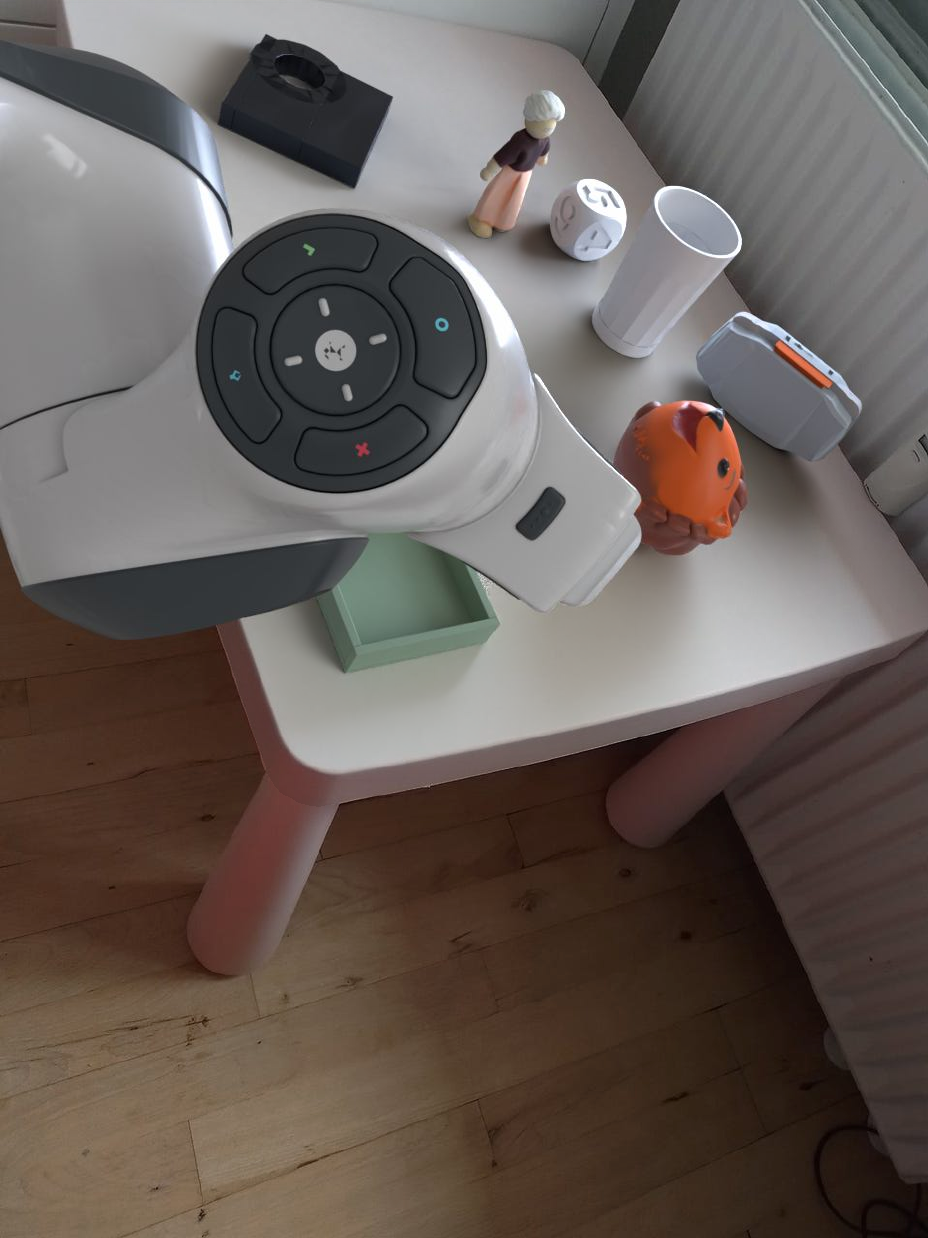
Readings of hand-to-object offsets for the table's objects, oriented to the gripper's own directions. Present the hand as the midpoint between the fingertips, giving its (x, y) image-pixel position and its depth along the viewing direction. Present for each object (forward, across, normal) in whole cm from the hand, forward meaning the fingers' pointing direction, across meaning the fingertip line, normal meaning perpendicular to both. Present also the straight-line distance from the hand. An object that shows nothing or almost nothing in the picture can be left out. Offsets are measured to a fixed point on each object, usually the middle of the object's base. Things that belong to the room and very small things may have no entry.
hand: (469, 451), depth 53 cm
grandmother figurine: (+36, -16, +16) cm, 43 cm away
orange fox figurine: (+24, +10, +5) cm, 27 cm away
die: (+40, -10, +21) cm, 46 cm away
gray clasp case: (+37, +12, +18) cm, 43 cm away
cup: (+36, -1, +16) cm, 40 cm away
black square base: (+32, -34, +13) cm, 48 cm away
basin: (+9, 0, -10) cm, 14 cm away
